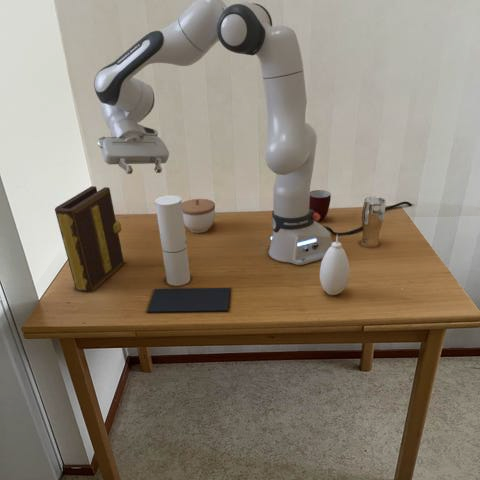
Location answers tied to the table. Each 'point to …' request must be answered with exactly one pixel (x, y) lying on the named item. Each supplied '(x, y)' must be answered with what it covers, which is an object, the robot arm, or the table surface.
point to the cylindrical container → (173, 239)
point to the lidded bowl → (198, 214)
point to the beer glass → (372, 220)
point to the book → (90, 237)
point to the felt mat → (189, 300)
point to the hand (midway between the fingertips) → (144, 171)
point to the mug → (320, 203)
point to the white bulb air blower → (334, 269)
